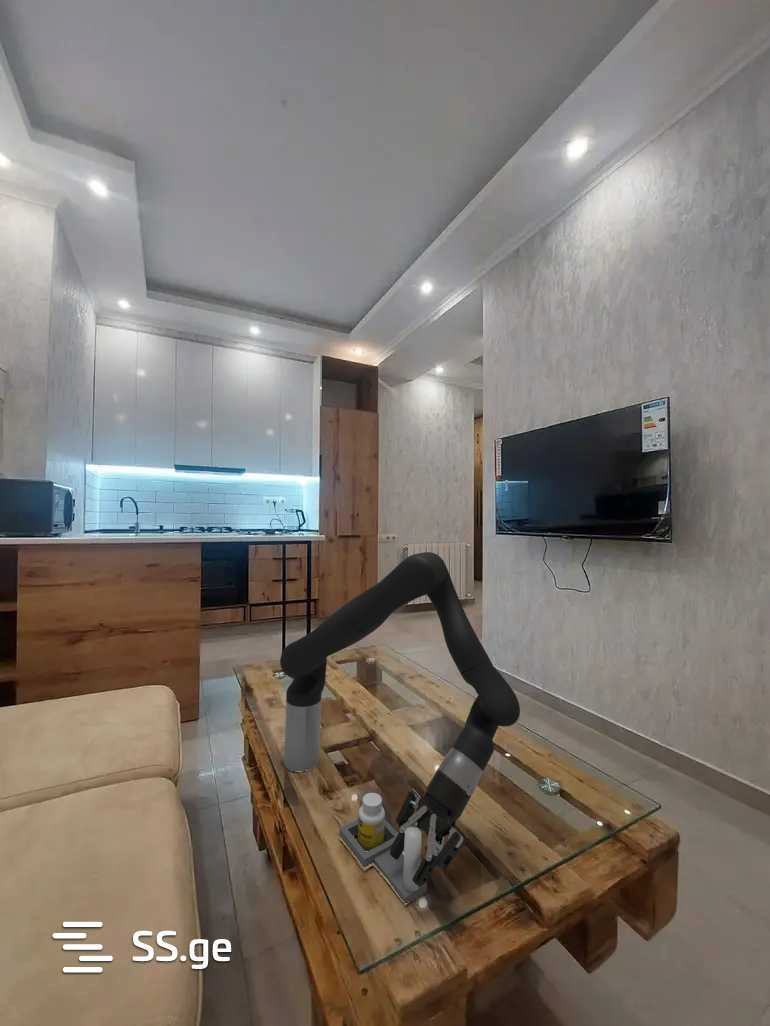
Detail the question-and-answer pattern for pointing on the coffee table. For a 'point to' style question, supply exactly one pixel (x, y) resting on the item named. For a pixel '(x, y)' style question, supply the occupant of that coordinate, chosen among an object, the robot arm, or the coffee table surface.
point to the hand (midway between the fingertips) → (404, 869)
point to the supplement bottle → (371, 822)
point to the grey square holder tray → (391, 858)
